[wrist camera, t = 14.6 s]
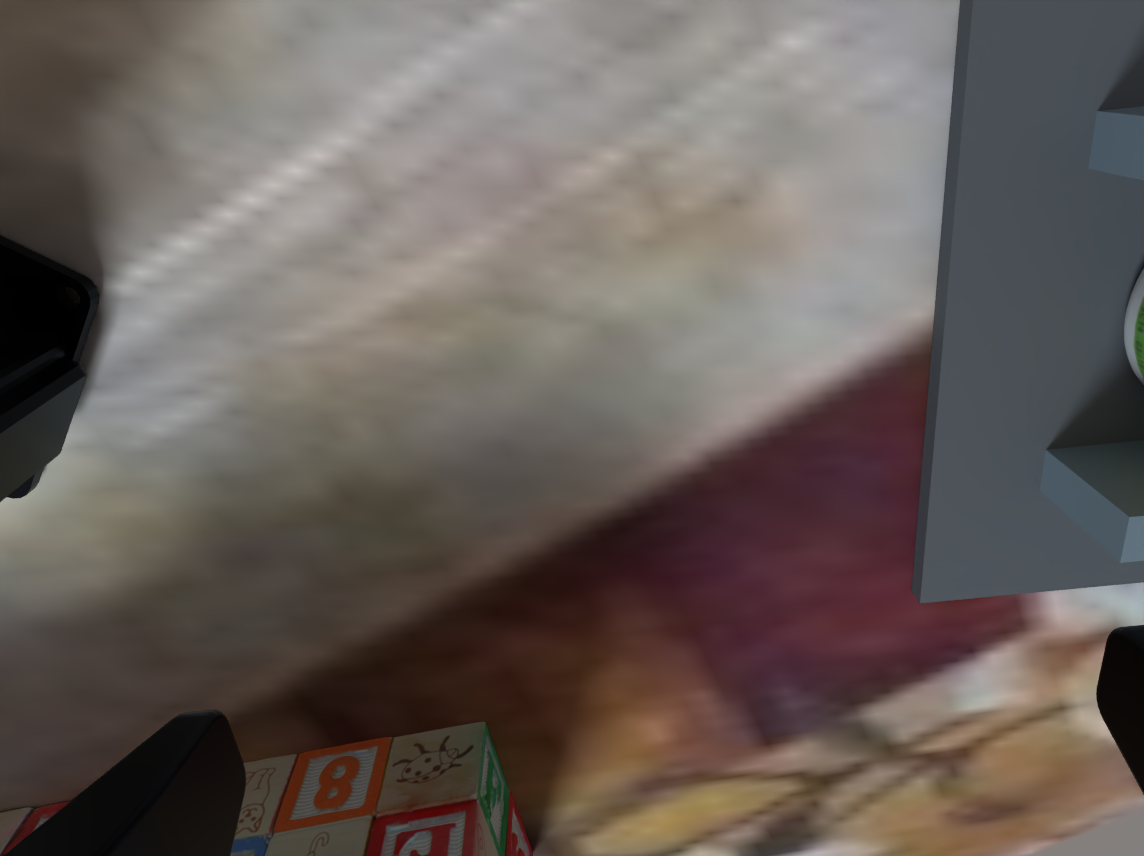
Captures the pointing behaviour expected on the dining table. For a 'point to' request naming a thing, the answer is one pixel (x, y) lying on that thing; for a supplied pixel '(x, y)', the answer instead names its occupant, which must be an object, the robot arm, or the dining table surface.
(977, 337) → the notch holder
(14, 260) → the robot arm
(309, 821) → the stack of blocks
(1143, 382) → the supplement bottle
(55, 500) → the dining table surface
